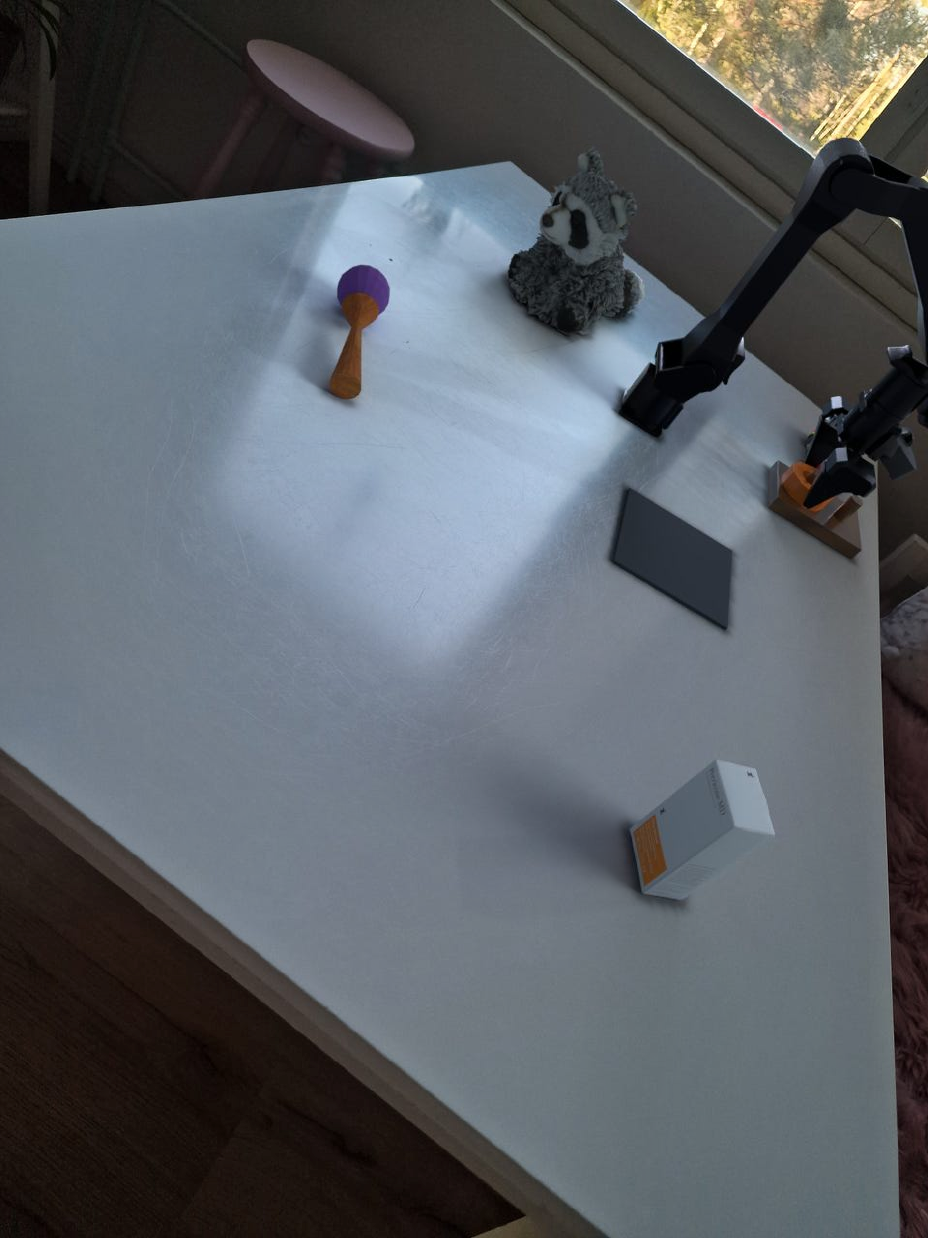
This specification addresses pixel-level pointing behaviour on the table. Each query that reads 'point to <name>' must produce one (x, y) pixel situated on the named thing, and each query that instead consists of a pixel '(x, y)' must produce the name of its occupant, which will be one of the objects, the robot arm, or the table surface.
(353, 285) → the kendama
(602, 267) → the raccoon plush
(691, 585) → the mat
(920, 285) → the robot arm
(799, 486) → the disc
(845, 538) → the rack
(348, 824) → the table surface
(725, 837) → the cosmetic box
